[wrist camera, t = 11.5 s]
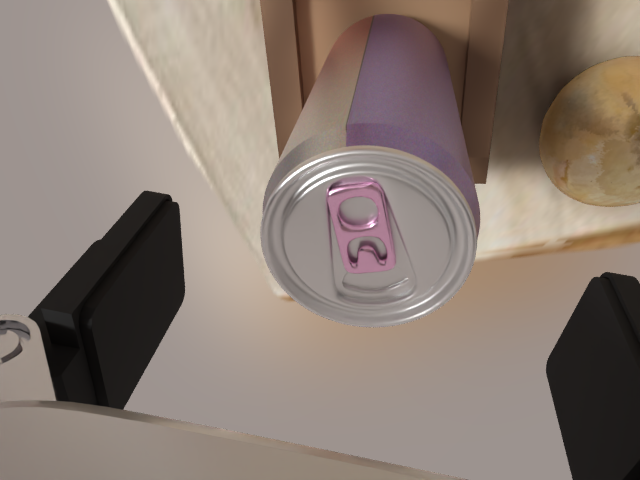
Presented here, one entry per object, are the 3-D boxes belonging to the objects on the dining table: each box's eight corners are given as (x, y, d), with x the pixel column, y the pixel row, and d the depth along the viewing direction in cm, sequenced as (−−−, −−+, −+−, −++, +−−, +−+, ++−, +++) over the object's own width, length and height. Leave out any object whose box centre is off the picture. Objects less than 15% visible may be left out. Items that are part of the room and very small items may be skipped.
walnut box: (495, -67, 26) (515, -56, 21) (474, 139, 32) (485, 183, 27) (281, -53, 28) (255, -40, 23) (299, 140, 34) (282, 182, 29)
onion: (682, 154, 31) (745, 216, 25) (542, 191, 33) (570, 256, 28) (673, 21, 27) (746, 59, 21) (516, 75, 30) (543, 121, 24)
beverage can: (440, -3, 23) (477, 122, 11) (452, 121, 26) (491, 326, 14) (313, 25, 25) (222, 162, 12) (339, 140, 28) (285, 340, 16)
